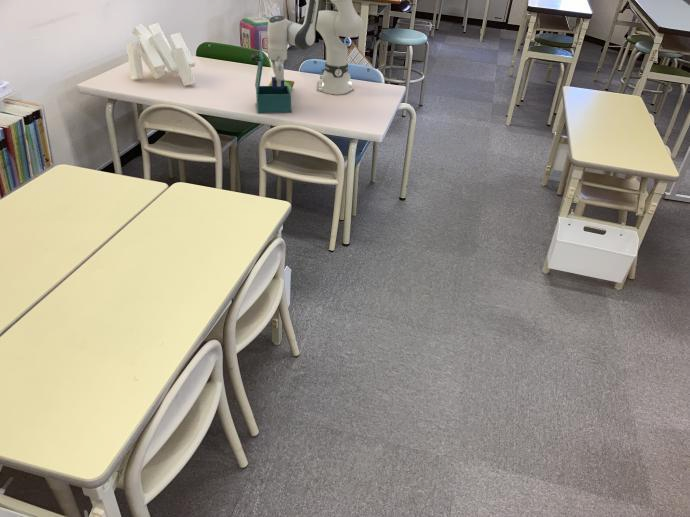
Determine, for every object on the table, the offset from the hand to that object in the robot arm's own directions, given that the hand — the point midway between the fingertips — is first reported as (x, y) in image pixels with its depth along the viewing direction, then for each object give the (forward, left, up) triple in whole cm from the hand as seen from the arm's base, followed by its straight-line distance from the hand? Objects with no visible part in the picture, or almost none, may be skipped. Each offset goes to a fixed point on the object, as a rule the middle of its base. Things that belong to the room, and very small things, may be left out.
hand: (278, 84), depth 262 cm
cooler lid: (0, -8, +6) cm, 10 cm away
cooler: (0, -2, -12) cm, 12 cm away
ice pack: (0, 0, -2) cm, 2 cm away
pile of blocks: (-44, -56, -12) cm, 72 cm away
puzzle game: (-20, +3, -12) cm, 23 cm away
